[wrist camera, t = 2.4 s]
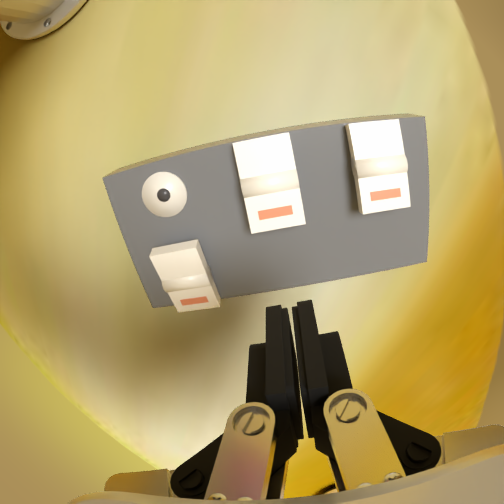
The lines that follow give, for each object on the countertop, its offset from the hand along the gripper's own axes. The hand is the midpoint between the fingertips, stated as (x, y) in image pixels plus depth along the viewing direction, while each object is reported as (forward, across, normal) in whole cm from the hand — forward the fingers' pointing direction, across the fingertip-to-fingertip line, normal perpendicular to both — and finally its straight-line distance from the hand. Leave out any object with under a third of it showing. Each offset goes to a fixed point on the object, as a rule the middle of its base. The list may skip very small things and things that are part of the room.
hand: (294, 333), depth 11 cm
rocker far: (+11, +8, +3) cm, 14 cm away
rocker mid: (+11, 0, -3) cm, 11 cm away
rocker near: (+11, -7, -3) cm, 14 cm away
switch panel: (+15, 0, 0) cm, 15 cm away
